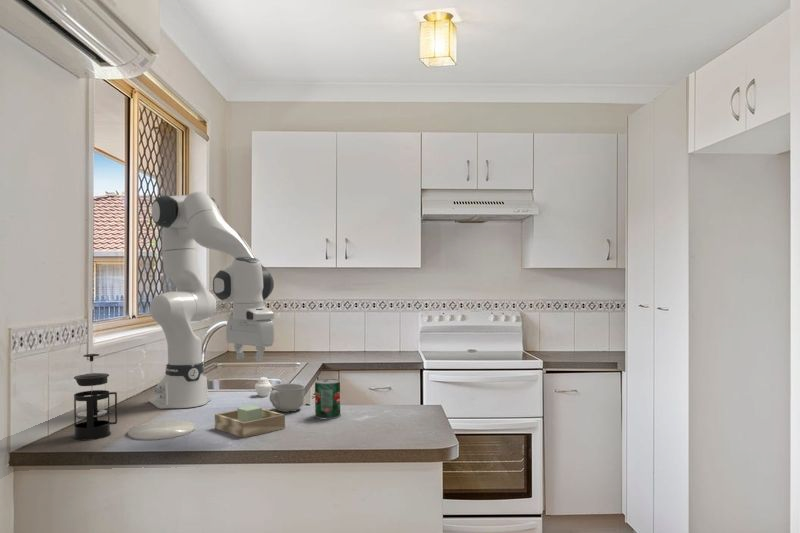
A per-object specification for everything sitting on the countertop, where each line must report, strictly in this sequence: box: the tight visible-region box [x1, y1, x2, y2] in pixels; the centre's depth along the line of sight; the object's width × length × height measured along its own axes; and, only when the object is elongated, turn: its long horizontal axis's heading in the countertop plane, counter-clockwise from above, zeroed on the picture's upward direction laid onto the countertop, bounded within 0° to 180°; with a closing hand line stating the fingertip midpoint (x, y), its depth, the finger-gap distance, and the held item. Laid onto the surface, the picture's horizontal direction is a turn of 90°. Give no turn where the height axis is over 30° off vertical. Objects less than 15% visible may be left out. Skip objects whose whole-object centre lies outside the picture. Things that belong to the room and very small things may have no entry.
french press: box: [73, 353, 118, 441], centre depth 180 cm, size 12×9×23 cm
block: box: [236, 405, 263, 422], centre depth 186 cm, size 5×5×6 cm
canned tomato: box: [314, 378, 341, 420], centre depth 201 cm, size 8×8×11 cm
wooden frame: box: [214, 408, 286, 438], centre depth 186 cm, size 16×14×4 cm
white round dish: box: [127, 419, 196, 441], centre depth 184 cm, size 18×18×1 cm
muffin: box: [254, 376, 273, 398], centre depth 233 cm, size 6×6×7 cm
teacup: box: [269, 383, 306, 413], centre depth 208 cm, size 14×11×8 cm
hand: (249, 360), depth 186 cm, fingers open, 8 cm apart
